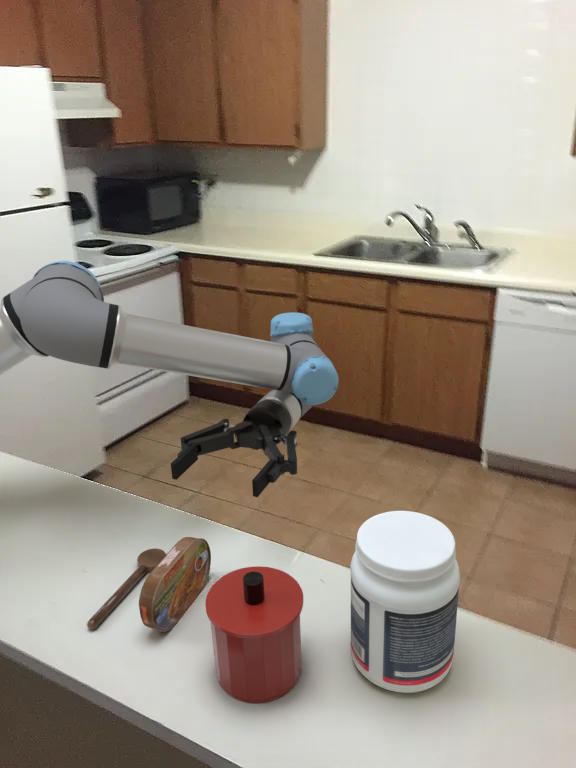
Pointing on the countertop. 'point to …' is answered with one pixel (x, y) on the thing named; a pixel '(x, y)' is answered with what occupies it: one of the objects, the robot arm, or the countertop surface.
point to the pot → (258, 664)
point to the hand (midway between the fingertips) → (213, 480)
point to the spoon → (128, 584)
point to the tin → (174, 583)
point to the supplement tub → (404, 601)
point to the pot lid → (254, 602)
